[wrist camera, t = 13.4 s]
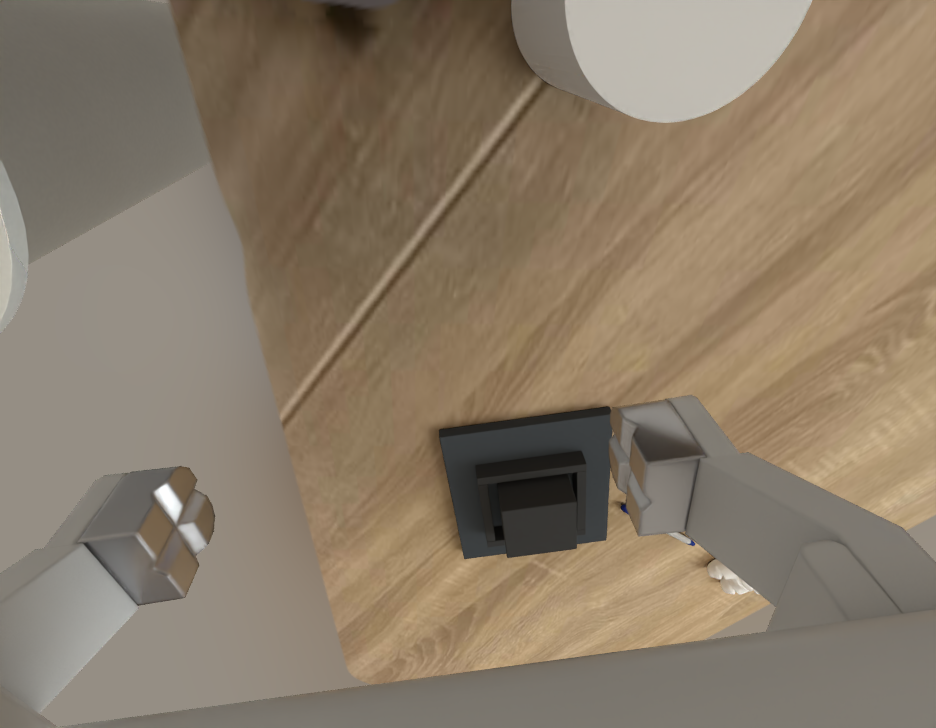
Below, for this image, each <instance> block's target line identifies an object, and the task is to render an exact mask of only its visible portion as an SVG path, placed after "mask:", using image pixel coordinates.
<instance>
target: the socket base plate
mask: <svg viewBox="0 0 936 728" xmlns="http://www.w3.org/2000/svg"><path fill="white" fill-rule="evenodd" d="M610 413H611V409H610V407H603V408H596V409H588V410H581V411H574V412H566V413H559V414H552V415H544V416H537V417H530V418H522V419H515V420H508V421H501V422H493V423H486V424H479V425H471V426H464V427H457V428H449V429H442V430H439V438H440V443H441V448H442V453H443V458H444V462H445V467H446V472H447V477H448V482H449V487H450V492H451V497H452V501H453V506H454V511H455V516H456V521H457V526H458V531H459V535H460V540H461V545H462V550H463V555H464V559H469V558H477V557H484V556H492V555H499V554H506V547H505V540H504V534H503V527H502V520H501V513H500V505H499V497H498V489H497V483H500V482H507V481H515V480H522V479H529V478H537V477H544V476H552V475H559V474H566V473H568V476H569V479H570V483H571V486H572V489H573V492H574V495H575V498H576V501H577V544H581V543H589V542H596V541H604V540H606V536H607V517H608V498H609V479H610V462H609V454H608V451H609V440H610V439H611V438H612V427H611V425H610Z"/></svg>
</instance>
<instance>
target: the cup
mask: <svg viewBox="0 0 936 728" xmlns="http://www.w3.org/2000/svg"><path fill="white" fill-rule="evenodd" d="M811 2H812V0H511V14H512V24H513V29H514V34H515V38H516V41H517V44H518V46H519V49H520V51H521V53H522V55H523V57H524V59H525V60H526V62H527V63H528V65H529V66H530V68H531V69H532V70H533V71H534V72H535V73H536V74H537V75H538V76H539V77H540V78H541V79H543V80H544V81H545V82H547V83H548V84H550V85H552V86H554V87H556V88H558V89H561V90H564V91H566V92H569V93H572V94H574V95H577V96H579V97H582V98H585V99H587V100H590V101H593V102H595V103H598V104H600V105H603V106H606V107H608V108H611V109H614V110H616V111H619V112H621V113H624V114H627V115H629V116H632V117H635V118H638V119H642V120H646V121H652V122H678V121H685V120H689V119H693V118H697V117H700V116H703V115H705V114H708V113H710V112H712V111H715V110H717V109H719V108H721V107H722V106H724V105H726V104H728V103H729V102H731V101H732V100H734V99H736V98H737V97H738V96H740V95H741V94H742V93H744V92H745V91H746V90H748V89H749V88H750V87H751V86H752V85H754V84H755V83H756V82H757V81H758V80H759V79H760V78H761V77H762V76H763V75H764V74H765V73H766V72H767V71H768V70H769V69H770V67H771V66H772V65H773V64H774V63H775V62H776V60H777V59H778V58H779V57H780V55H781V54H782V53H783V51H784V50H785V49H786V47H787V46H788V44H789V43H790V41H791V40H792V38H793V37H794V35H795V33H796V32H797V30H798V28H799V26H800V25H801V23H802V21H803V19H804V17H805V15H806V13H807V11H808V9H809V6H810V4H811Z"/></svg>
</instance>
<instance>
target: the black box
mask: <svg viewBox="0 0 936 728" xmlns="http://www.w3.org/2000/svg"><path fill="white" fill-rule="evenodd" d="M497 489H498V497H499V505H500V513H501V520H502V527H503V534H504V540H505V547H506V554H507V558H511V557H518V556H526V555H533V554H541V553H548V552H556V551H563V550H571V549H576V548H577V501H576V498H575V495H574V492H573V489H572V486H571V483H570V479H569V476H568V473H566V474H559V475H552V476H544V477H537V478H529V479H522V480H515V481H507V482H500V483H497Z"/></svg>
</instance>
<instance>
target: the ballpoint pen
mask: <svg viewBox="0 0 936 728" xmlns="http://www.w3.org/2000/svg"><path fill="white" fill-rule="evenodd" d="M621 509H622V510H623V511H624V512H625V513H627V514H628V511H627V509H626V505H622V506H621ZM667 534H668V535H670V536H672V537H674V538H676V539H678V540H680V541H682V542H684V543H686V544H688V545H692V546H694V545H695V543H694V542H693V541H692V540H691V539H689V538H688V537H686V536H684V535H682V534H680V533H678V532H675V533H667Z"/></svg>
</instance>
